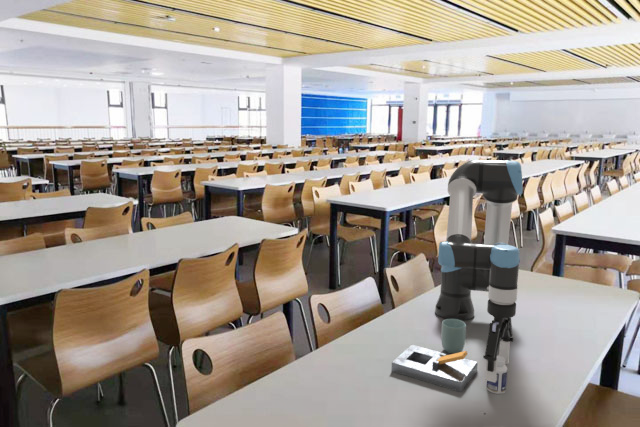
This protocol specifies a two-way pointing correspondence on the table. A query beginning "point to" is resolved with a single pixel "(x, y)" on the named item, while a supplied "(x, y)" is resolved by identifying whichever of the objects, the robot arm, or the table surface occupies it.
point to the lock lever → (451, 357)
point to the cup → (453, 335)
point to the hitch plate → (434, 368)
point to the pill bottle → (499, 377)
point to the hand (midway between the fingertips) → (497, 371)
